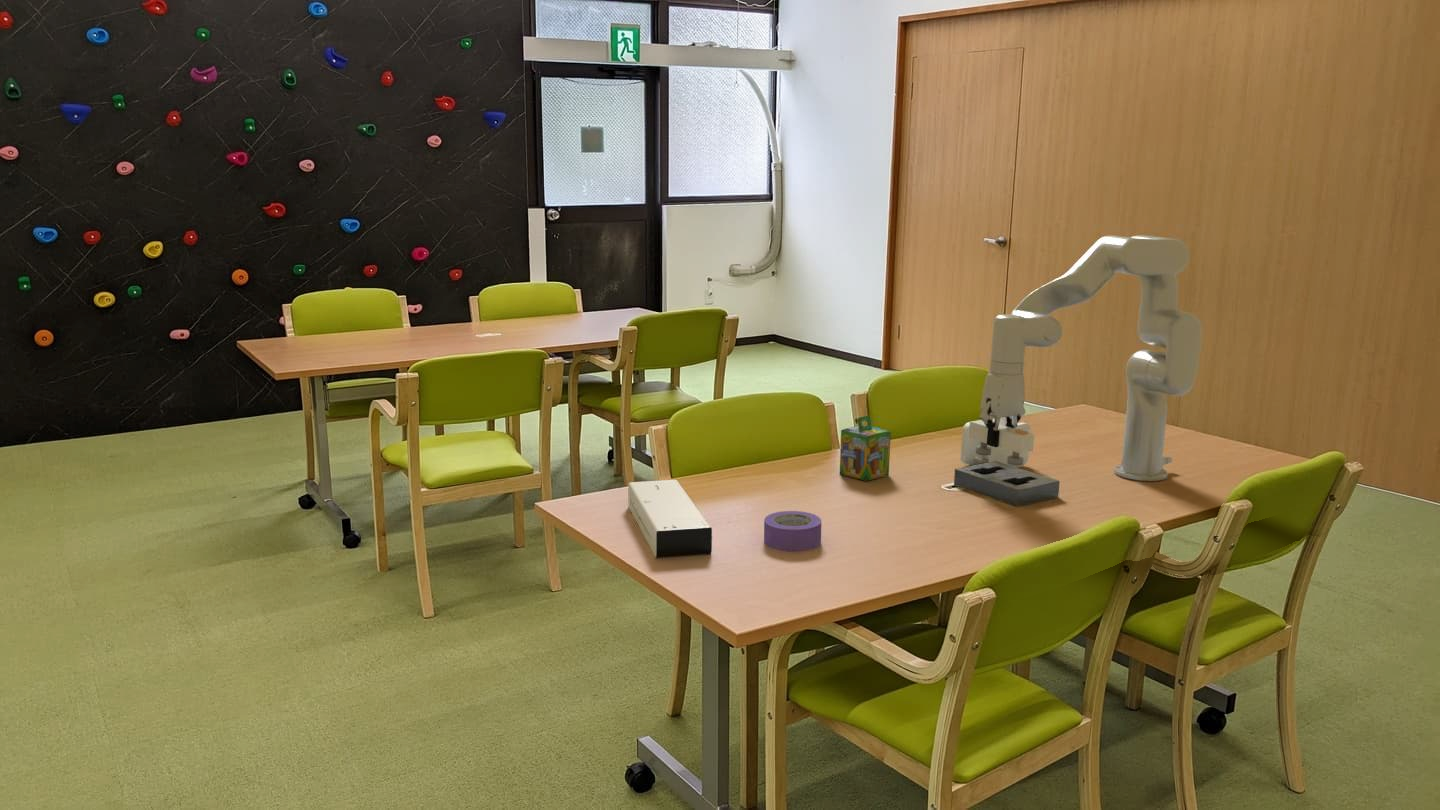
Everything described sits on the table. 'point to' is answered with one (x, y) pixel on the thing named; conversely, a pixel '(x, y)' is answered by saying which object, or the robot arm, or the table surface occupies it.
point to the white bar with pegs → (1003, 441)
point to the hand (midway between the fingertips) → (1000, 443)
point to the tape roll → (792, 531)
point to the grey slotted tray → (1006, 483)
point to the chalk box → (865, 451)
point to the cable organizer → (996, 452)
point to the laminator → (669, 519)
